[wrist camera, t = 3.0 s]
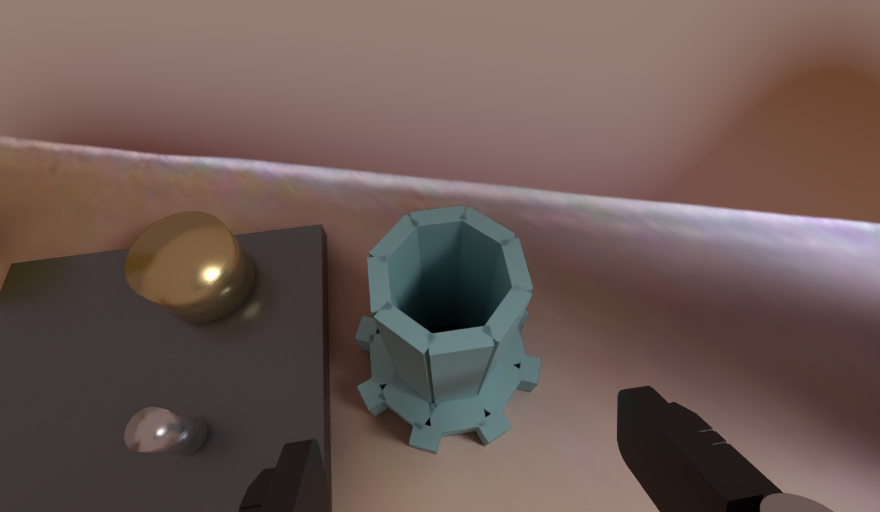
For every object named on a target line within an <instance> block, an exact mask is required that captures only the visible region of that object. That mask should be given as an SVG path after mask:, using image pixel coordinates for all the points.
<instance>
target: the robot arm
mask: <svg viewBox="0 0 880 512" xmlns="http://www.w3.org/2000/svg"><path fill="white" fill-rule="evenodd" d="M617 442H618V446H619V450H620V453H621V455H622V458H623V460H624V461H625V463H626V465H627V466H628V467H629V469H630V470H631V472H632V473H633V475H634V476H635V477H636V479H637V480H638V482H639V483H640V484H641V486H642V487H643V489H644V490H645V491H646V493H647V494H648V496H649V497H650V498H651V500H652V501H653V503H654V504H655V505H656V507H657V508H658V510H659V511H660V512H833V511H832V510H830V509H828V508H827V507H825V506H823V505H821V504H819V503H817V502H815V501H813V500H810V499H808V498H805V497H802V496H798V495H794V494H787V493H783V492H782V491H781V490H780V489H779V488H777V487H776V486H775V485H774V484H773V483H772V482H771V481H770V480H769V479H768V478H766V477H765V476H764V475H763V474H762V473H761V472H760V471H759V470H758V469H757V468H755V467H754V466H753V465H752V464H751V463H750V462H749V461H748V460H747V459H746V458H744V457H743V456H742V455H741V454H740V453H739V452H738V451H737V450H736V449H735V448H734V447H732V446H731V445H730V444H727V443H726V440H725V439H724V438H723V437H721V436H720V435H719V434H718V433H717V432H716V431H713V429H712V427H710V426H709V425H708V424H707V423H706V422H705V421H704V420H703V419H702V418H701V417H699V416H698V415H697V414H696V413H694V412H692V411H691V410H689V409H687V408H685V407H683V406H681V405H679V404H677V403H676V402H672V403H668V402H667V401H666V400H665V399H664V398H663V397H662V396H661V395H660V394H659V393H658V392H657V391H655V390H654V389H653V388H652V387H650V386H643V387H637V388H631V389H624V390H620V391H619V393H618V407H617ZM329 507H330V496H329V487H328V482H327V478H326V473H325V469H324V465H323V460H322V456H321V452H320V447H319V444H318V441H317V440H316V439H310V440H304V441H298V442H292V443H286V444H285V445H284V446H283V449H282V451H281V454H280V457H279V460H278V462H277V465H276V467H274V468H268V469H263V470H262V472H261V473H260V474H259V475H258V476H257V477H256V479H255V480H254V481H253V482H252V483H251V484H250V486H249V487H248V488H247V490H246V493H245V495H244V497H243V500H242V502H241V504H240V507H239V512H329Z"/></svg>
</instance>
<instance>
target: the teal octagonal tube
mask: <svg viewBox="0 0 880 512" xmlns="http://www.w3.org/2000/svg"><path fill="white" fill-rule="evenodd" d="M410 217H411V218H410ZM410 217H409V216H407V215H406V214H405V215H404V216H403V217H402V218H401V219H400V220H399V221H398V222H397V223H396V225H395V226H394V227H393V228H392V229H391V230H390V231H389V232H388V233H387V234H386V235H385V236H384V237H383V238H382V239H381V240H380V242H379V243H378V244H377V245H376V246H375V247H374V248H373V249H372V250H371V251H370V252H369V255H370V257H368V258H367V264H368V278H369V292H370V306H371V313H372V316H373V318H371V317H367V316H362V319H361V322H360V324H359V327H358V330H357V333H356V336H355V338H354V339H355V340H356V342H357V343H358V345H359V347H360V348H361V350H363V351H367V352H370V359H371V374H372V378H370V379H369V380H367V381H365V382H363V383H362V384H360V385H358V386H357V388H358V390H359V392H360V394H361V396H362V398H363V400H364V402H365V404H366V406H367V408H368V410H369V411H370V412H371V413H372V414H373V415H374V416H377V415H379V414H380V413H382V412H384V411H385V410H387V409H388V408H389V409H391V410H392V411H393V412H394V413H395V414H397V415H398V416H399V417H400V418H402V419H403V420H404V421H405V422H406V423H408V424H409V425H410V426H411V427H413V429H412V433H411V437H410V440H409V445H410V446H411V447H413V448H416V449H420V450H423V451H427V452H431V453H434V454H437V451H438V446H439V442H440V438H441V437H444V436H450V435H456V434H463V433H469V432H475V431H476V433H477V435H478V436H479V438H480V440H481V441H482V443H483V445H484V446H486V445H487V444H489V443H490V442H492V441H493V440H494V439H496V438H497V437H499V436H500V435H502V434H503V433H505V432H506V431H507V430H509V429H510V428H511V425H510V424H509V422H508V421H507V419H506V418H505V416H504V414H503V413H502V410H503V408H504V407H505V405H506V403H507V402H508V400H509V399H510V397H511V396H512V394H513V392H514V391H515V389H519V390H523V391H527V392H531V391H532V390H533V389H534V387H535V386H536V385H537V384H538V380H539V373H540V365H541V358H538V357H534V356H530V355H526V354H525V351H524V347H523V343H522V339H521V335H520V331H519V328H521V327H522V326H523V324H524V322H525V321H526V319H527V317H528V315H529V312H528V311H527V309H526V307H527V305H528V303H529V301H530V299H531V297H532V294H531V293H532V291H533V286H532V282H531V279H530V275H529V272H528V268H527V264H526V261H525V257H524V254H523V250H522V247H521V243H520V240H519V238H514V237H515V234H516V233H514V232H512V231H511V230H509V229H507V228H505V227H504V226H502V225H500V224H499V223H497V222H495V221H494V220H492V219H490V218H488V217H487V216H485V215H483V214H482V213H480V212H478V211H476V210H475V209H473V208H471V207H470V206H469V207H468V208H467V209H466V210H465V208H464V205H461V206H453V207H445V208H437V209H429V210H421V211H413V212H410ZM453 324H455V325H457V326H458V327H460V328H461V329H460V330H453V331H446V332H439V333H431V332H429V331H428V330H426V329H427V328H432V327H439V326H446V325H453ZM430 423H431V426H429V425H430Z"/></svg>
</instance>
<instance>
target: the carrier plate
mask: <svg viewBox="0 0 880 512" xmlns="http://www.w3.org/2000/svg"><path fill="white" fill-rule="evenodd" d="M310 439H316V440H317V441H318V444H319V447H320V452H321V456H322V460H323V465H324V469H325V473H326V478H327V482H328V487H329V496H330V507H329V512H332V498H331V444H330V389H329V334H328V279H327V235H326V233H325V231H324V229H323V227H322V224H321V225H313V226H306V227H298V228H290V229H282V230H274V231H266V232H258V233H250V234H242V235H235V236H234V235H233V234H232V233H231V232H230V231H229V230H228V228H227V227H226V226H225V225H224V224H223V223H222V222H221V221H220V220H219V219H218V218H216V217H215V216H212V215H210V214H207V213H203V212H182V213H178V214H174V215H171V216H168V217H166V218H164V219H161V220H159V221H158V222H156V223H154V224H153V225H151V226H150V227H149V228H147V229H146V230H145V231H144V232H143V233H142V234H141V235H140V236H139V237H138V238H137V239H136V241H135V242H134V243H133V245H132V246H131V248H130V249H124V250H116V251H108V252H100V253H92V254H85V255H77V256H69V257H61V258H53V259H45V260H37V261H29V262H21V263H13V264H11V267H10V269H9V272H8V274H7V277H6V279H5V282H4V284H3V287H2V289H1V292H0V512H239V507H240V504H241V502H242V500H243V497H244V495H245V493H246V490H247V488H248V487H249V486H250V484H251V483H252V482H253V481H254V480H255V479H256V477H257V476H258V475H259V474H260V473H261V472H262V470H263V469H268V468H274V467H276V465H277V462H278V460H279V457H280V454H281V451H282V449H283V446H284V445H285V444H286V443H292V442H298V441H304V440H310Z"/></svg>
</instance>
